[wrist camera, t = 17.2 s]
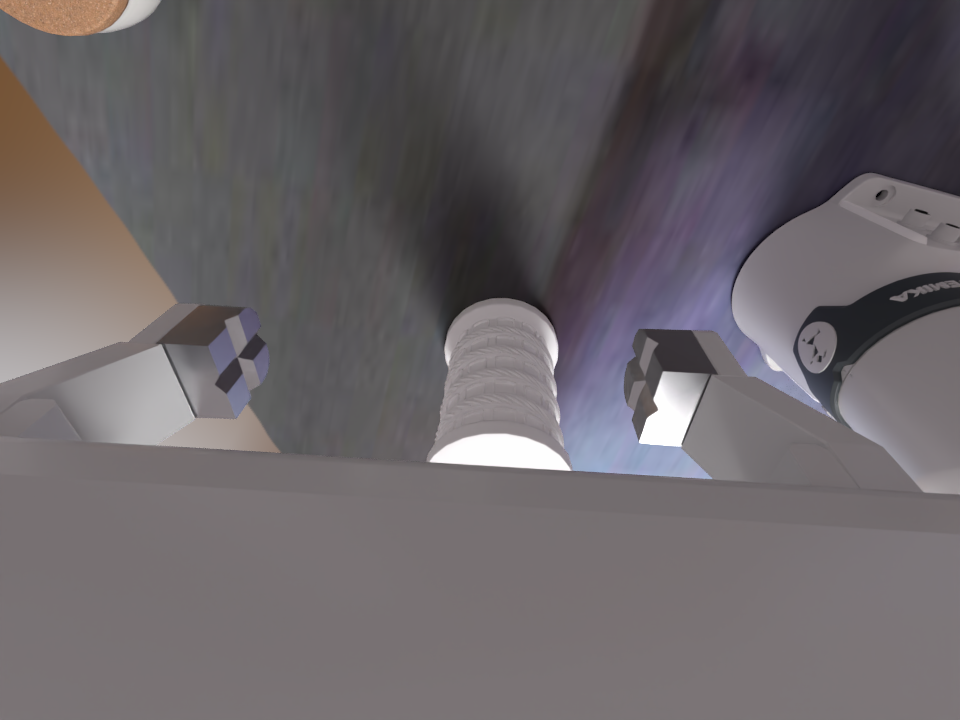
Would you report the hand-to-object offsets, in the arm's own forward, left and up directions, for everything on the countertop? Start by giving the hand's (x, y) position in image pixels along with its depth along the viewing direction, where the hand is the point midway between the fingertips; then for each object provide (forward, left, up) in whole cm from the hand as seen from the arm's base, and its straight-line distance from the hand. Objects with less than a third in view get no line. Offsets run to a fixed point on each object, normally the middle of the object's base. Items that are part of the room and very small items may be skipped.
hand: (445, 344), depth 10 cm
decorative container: (-2, +21, -31) cm, 38 cm away
